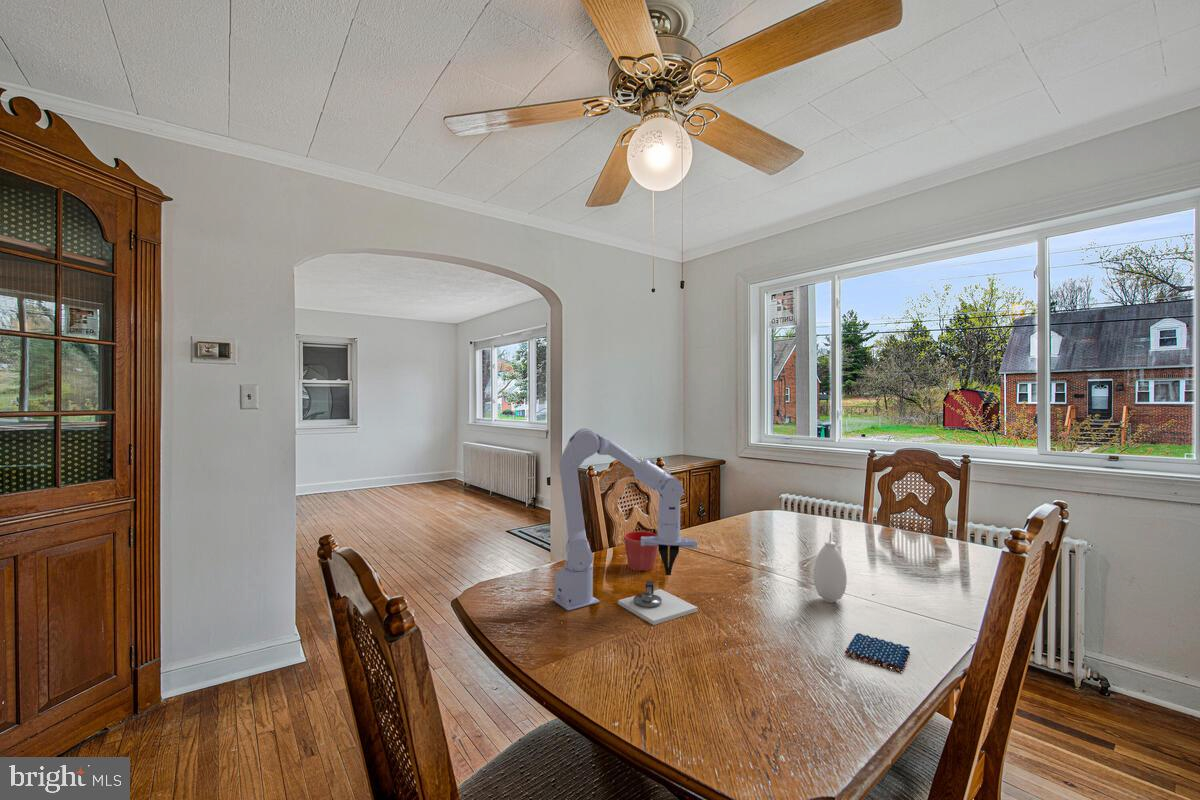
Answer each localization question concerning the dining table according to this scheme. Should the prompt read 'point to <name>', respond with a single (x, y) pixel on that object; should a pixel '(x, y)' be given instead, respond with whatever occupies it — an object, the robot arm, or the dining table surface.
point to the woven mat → (878, 651)
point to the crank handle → (648, 597)
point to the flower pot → (639, 551)
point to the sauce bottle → (830, 573)
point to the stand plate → (660, 608)
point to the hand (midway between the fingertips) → (668, 574)
